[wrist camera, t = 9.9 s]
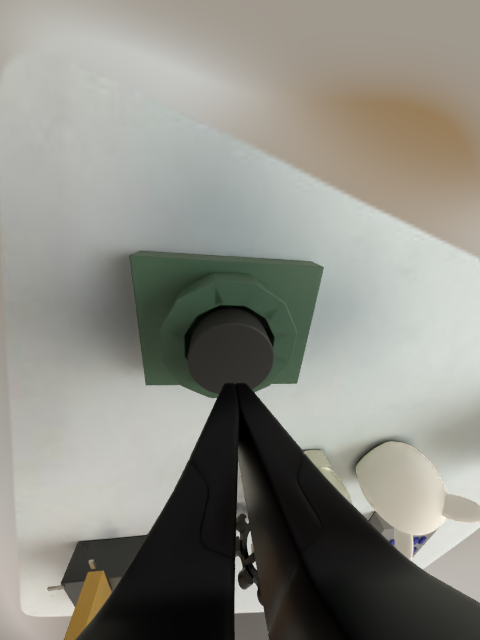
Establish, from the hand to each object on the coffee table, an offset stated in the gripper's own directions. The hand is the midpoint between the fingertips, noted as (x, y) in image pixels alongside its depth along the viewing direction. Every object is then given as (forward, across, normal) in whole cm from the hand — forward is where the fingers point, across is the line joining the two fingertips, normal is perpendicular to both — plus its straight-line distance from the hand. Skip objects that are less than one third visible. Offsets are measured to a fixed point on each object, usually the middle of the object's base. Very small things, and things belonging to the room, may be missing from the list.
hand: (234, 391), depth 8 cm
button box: (+7, 0, 0) cm, 7 cm away
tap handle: (+4, +11, +27) cm, 29 cm away
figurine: (+7, -17, +16) cm, 24 cm away
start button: (+4, 0, 0) cm, 4 cm away
